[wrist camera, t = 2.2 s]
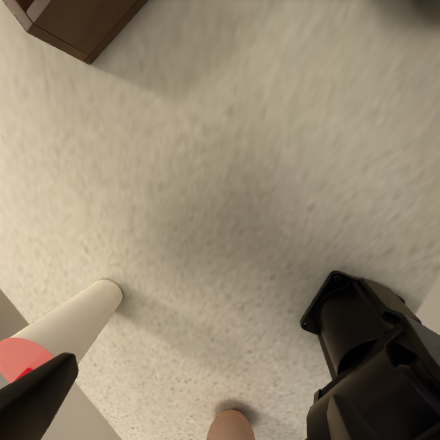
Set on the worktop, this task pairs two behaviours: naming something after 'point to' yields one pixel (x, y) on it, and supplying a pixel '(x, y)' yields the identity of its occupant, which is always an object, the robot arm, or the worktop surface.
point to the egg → (230, 427)
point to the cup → (61, 330)
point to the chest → (75, 22)
